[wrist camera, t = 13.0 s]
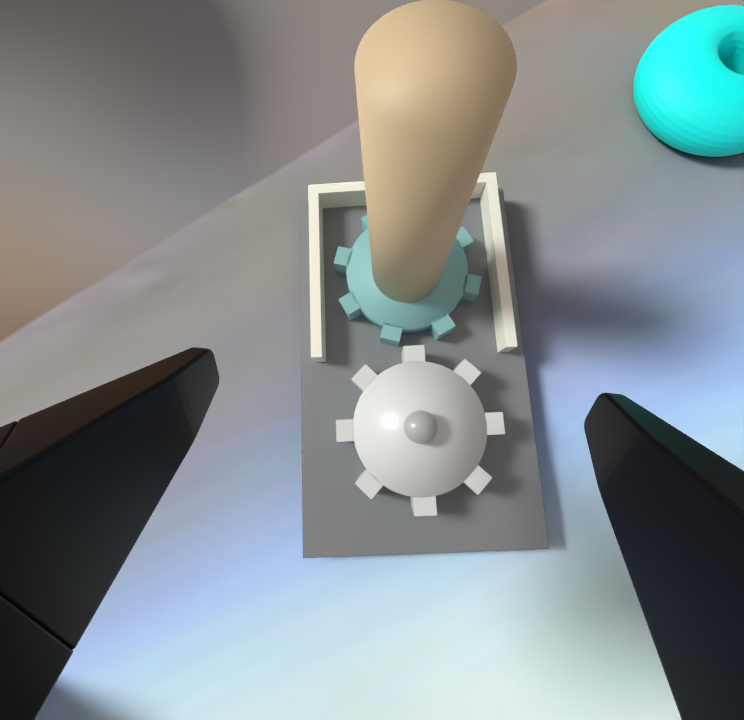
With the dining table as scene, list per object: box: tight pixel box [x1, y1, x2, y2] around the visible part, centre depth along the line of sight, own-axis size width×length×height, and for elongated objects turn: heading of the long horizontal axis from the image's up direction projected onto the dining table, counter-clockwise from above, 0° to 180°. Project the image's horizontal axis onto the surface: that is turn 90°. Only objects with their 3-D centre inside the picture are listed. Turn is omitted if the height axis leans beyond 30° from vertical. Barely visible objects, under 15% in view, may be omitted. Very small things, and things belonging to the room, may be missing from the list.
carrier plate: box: [299, 172, 549, 558], centre depth 20 cm, size 21×13×4 cm, turn 3°
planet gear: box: [334, 0, 517, 347], centre depth 15 cm, size 8×8×13 cm
